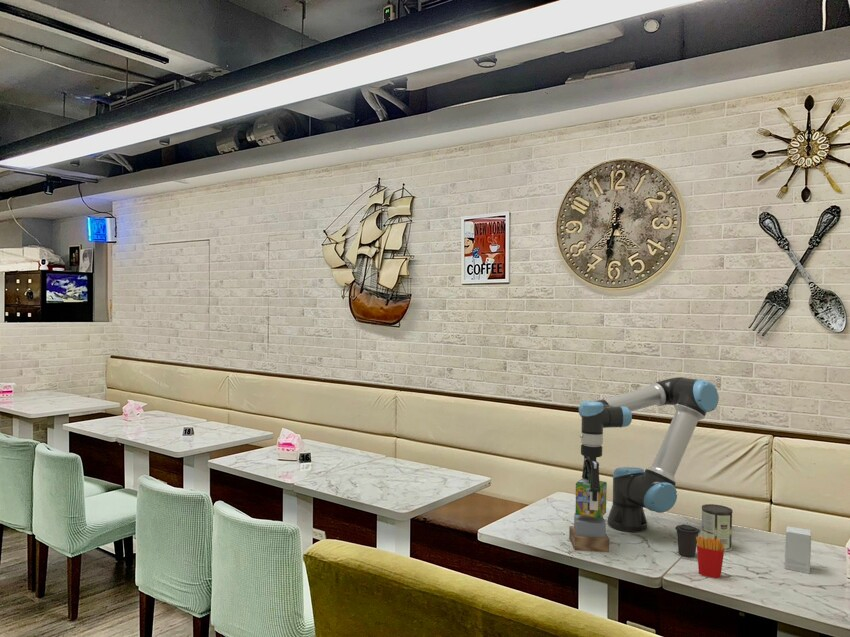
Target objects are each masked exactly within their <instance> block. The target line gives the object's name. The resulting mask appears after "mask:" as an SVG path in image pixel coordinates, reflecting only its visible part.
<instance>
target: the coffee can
mask: <svg viewBox="0 0 850 637" xmlns="http://www.w3.org/2000/svg"><path fill="white" fill-rule="evenodd" d="M732 530H733V509H732V508H731V507H728V506H724V505H720V504H713V503H711V504H710V503H709V504H708V503H707V504H706V503H705V504H702V505H701V532H700V533H701V534H700V537H701V536H702V537H703V538H704V539H707V537H709V538H712V539H715V541H716V539H719V540H720V543H722V542H724V547H723V549H724V553H726V552H730V551H731V550H732V548H733V547H732V540H733V539H732V533H733V531H732Z"/></svg>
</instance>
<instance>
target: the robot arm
mask: <svg viewBox="0 0 850 637" xmlns="http://www.w3.org/2000/svg"><path fill="white" fill-rule="evenodd" d="M719 399H720V398H719V393H718V389H717V388H716V386H715V385H714V384H713V383H712V382H710V381H709V380H703V379H696V378H688V377H681V376H679V377H678V376H677V377H671V378H666V379H663V380H659V381H655V382H652V383H650V385H649V386H646V387H643V388H639V389H636V390H631V391H628V392H625V393H622V394H617V395H613V396H610V397H606V398H603V399H599V400H595V401H592V400H585V401H584V400H583V401H581V403H579V407H578V414H579V417H580V418H581V434H580V435H579V438H580V440H581V441H580V442H581V445H580V454H581V456H583V466H582V473H581V474H582V475H581V479H583V478H584V479H588V476H587V474H588V473H589V478H590V485H591V489H589V492H590V510H598V492H600V483H599V481H600V467H599V466H600V463H599V461H597V458H601V457H602V456H603V446H602V445H603V442H604V441H603V440H604V429H606V428H607V429H608V428H625V427H629V426H630V425H631V423H632V421H633V419H632V418H633V414H632V412H635V411H638V410H642V409H644V408H645V409H646V408H649V407H652V406H656V407H661V406H667V405H668V406H674V409H675V413H674V414H673V417H672V419H671V422H670V424H669V426H668V429H667V430H666V433H665V436H664V437H663V440H662V441H661V442H662V443H661V444H660V446H659V449H658V451H657V453H656V455H655V458H654V461H653V462H652V465H651V466H650V467H646V468H645V469H644V468H642V467H633V466H632V467H631V466H630V467H629V466H628V467H626V466H624V467H617V468H615V469H614V471H613V476H612V504H611V507H610V511H609V512H608V513H609V514H608V516H607V526H609V527H610V528H613V529H614V530H619V531H622V532H631V533H638V532H645V531H647V530H648V520H647V517H646V514H645V510H644V508H645V509H646V510H648V511H651V512H656V513H661V514H662V513H666V512H668V511H669V510H671V509H672V508H673V507H674V506H675V504H676V502H677V499H678V494H677V491H678V490H677V488H676V487H675V486H676V484H677V482H676V480H675V475H676V473H677V471H678V468H679V466H680V463H681V462H682V459H683V457H684V455H685V452H686V450H687V447H688V445H689V443H690V441H691V438H692V436H693V433H694V431H695V429H696V427H697V424H698V422H699V421H700V420H704V419H705V416H706V415H707V413H710V412H711V413H712V411H714V410H716V408H717V407H718V405H719ZM594 487H596V488H594Z"/></svg>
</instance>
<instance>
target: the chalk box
mask: <svg viewBox="0 0 850 637" xmlns="http://www.w3.org/2000/svg"><path fill="white" fill-rule="evenodd" d="M587 476H588V479H584V478H581V479H580V480H578V481H577V482H576V483H575V514H576V515H582V516H588V517H594V518H599V519H600V518H601V517H602V516H603V517H604V515H605V514H607V488H608V487H607V486H608V483H607V482H606V481H602V480H599V483H600V492H598V510H590V492H589V489H591V485H590V478H589V473H588V474H587ZM594 488H596V487H594Z"/></svg>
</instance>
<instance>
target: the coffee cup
mask: <svg viewBox="0 0 850 637" xmlns="http://www.w3.org/2000/svg"><path fill="white" fill-rule="evenodd" d="M674 529H675V530H676V540H677V550H678V551H677V552H678V555H679V556H680V557H683V558H687V559H693V558H695V557H696V554H697V540H696V537H698V538H699V533H701V530H700V529H699V528H698V527H695V526H694V525H693V526H692V525H689V524H685V523H684V524H678V525H676V526H675V528H674Z"/></svg>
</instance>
